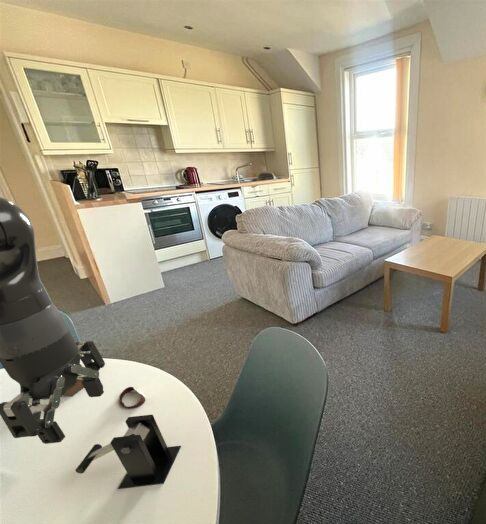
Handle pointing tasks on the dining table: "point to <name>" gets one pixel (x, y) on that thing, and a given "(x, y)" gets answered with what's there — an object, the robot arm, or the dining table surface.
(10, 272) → the robot arm
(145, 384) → the dining table surface
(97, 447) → the lever
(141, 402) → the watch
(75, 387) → the button block
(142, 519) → the dining table surface
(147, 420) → the bracket
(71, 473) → the dining table surface
